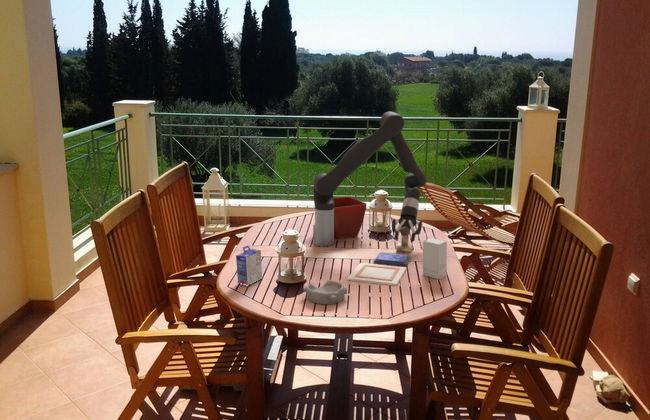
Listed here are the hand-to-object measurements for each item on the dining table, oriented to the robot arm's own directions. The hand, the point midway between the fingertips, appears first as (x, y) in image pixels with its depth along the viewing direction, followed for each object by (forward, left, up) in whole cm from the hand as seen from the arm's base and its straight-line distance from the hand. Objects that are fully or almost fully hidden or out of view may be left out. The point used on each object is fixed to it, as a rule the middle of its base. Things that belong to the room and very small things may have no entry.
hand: (404, 240), depth 287 cm
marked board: (-4, -34, -5) cm, 35 cm away
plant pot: (-35, +17, -5) cm, 39 cm away
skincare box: (+18, -28, -5) cm, 34 cm away
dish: (-16, -65, -5) cm, 68 cm away
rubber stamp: (0, +2, -5) cm, 5 cm away
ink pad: (-2, -15, -5) cm, 16 cm away
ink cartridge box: (-50, -58, -5) cm, 77 cm away
